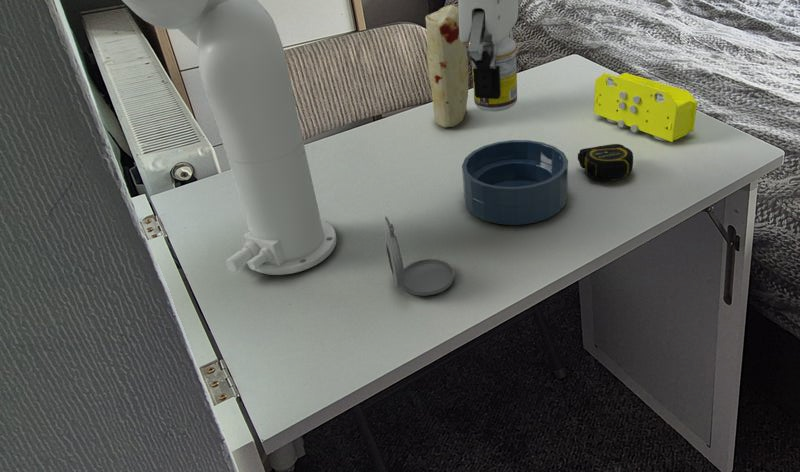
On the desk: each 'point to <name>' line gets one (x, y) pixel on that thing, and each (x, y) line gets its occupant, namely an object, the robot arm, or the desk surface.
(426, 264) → the pocket watch
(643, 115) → the yellow toy chassis
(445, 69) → the food model
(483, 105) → the supplement bottle
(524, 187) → the blue faceted bowl
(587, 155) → the tape measure
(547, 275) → the desk surface
